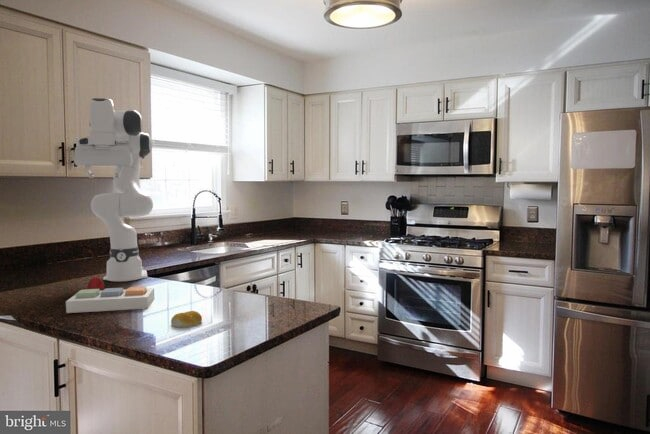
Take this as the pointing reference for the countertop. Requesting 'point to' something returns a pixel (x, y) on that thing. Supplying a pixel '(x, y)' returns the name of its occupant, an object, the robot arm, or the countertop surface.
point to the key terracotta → (135, 291)
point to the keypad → (110, 302)
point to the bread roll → (186, 319)
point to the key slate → (112, 292)
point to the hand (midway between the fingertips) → (104, 177)
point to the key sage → (88, 293)
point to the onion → (96, 283)
